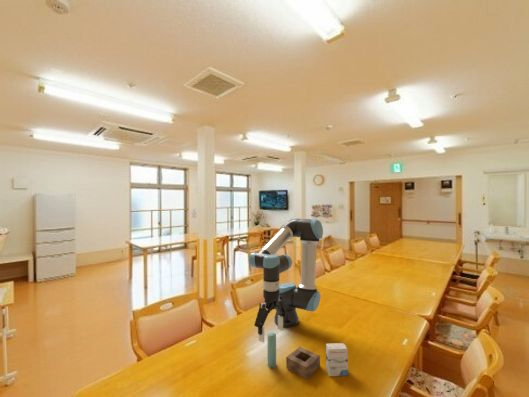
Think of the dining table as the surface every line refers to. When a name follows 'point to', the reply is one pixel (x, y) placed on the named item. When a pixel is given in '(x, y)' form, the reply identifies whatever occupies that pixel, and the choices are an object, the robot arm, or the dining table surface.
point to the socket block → (303, 362)
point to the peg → (271, 349)
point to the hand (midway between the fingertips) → (271, 335)
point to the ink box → (337, 359)
